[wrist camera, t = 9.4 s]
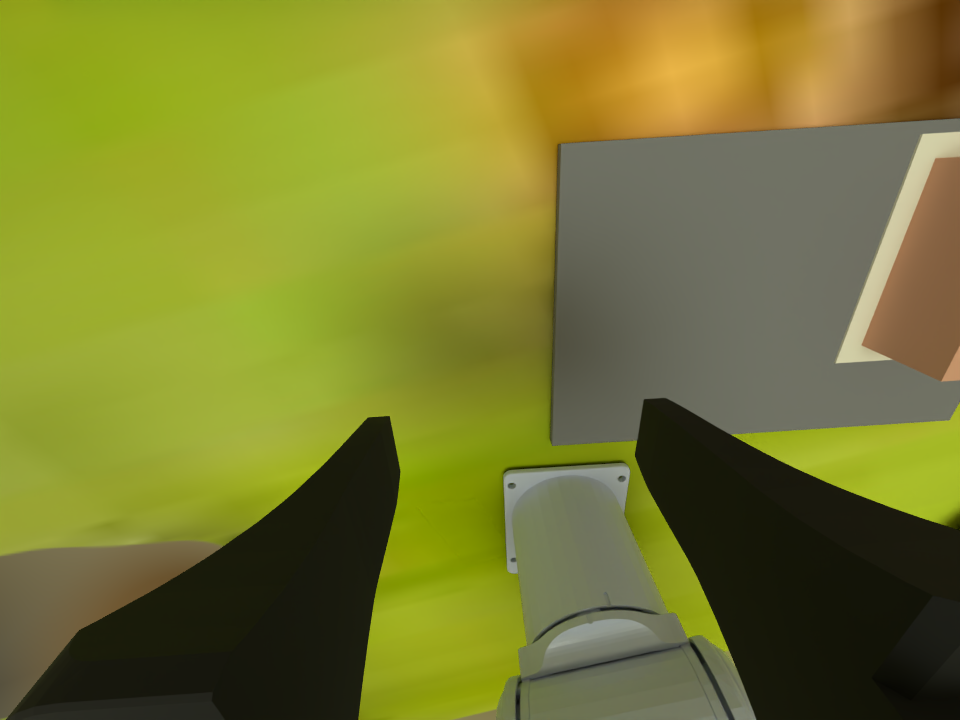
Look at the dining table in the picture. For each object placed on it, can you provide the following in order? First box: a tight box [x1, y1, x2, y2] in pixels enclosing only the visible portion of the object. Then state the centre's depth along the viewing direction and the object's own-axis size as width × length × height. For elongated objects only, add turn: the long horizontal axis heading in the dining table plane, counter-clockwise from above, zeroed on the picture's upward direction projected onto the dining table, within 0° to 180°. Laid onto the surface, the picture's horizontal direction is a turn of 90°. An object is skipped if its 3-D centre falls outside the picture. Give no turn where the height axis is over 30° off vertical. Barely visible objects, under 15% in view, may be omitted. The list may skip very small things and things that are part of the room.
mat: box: [550, 119, 960, 446], centre depth 21 cm, size 16×24×1 cm, turn 93°
